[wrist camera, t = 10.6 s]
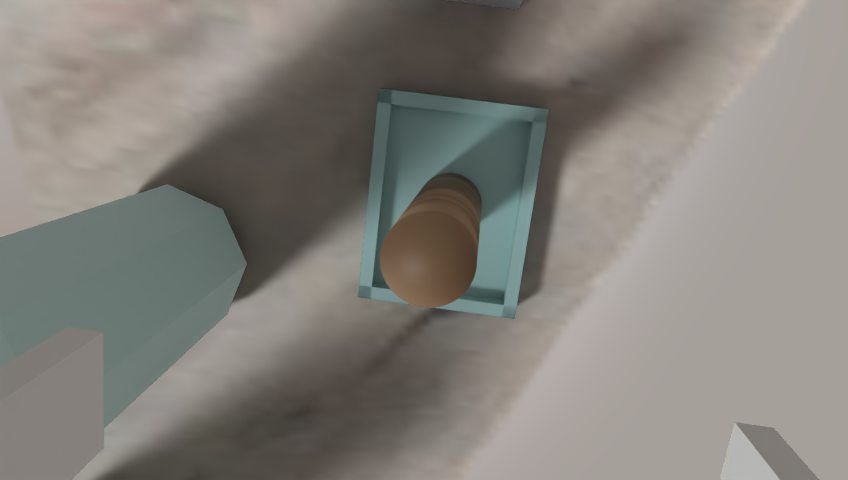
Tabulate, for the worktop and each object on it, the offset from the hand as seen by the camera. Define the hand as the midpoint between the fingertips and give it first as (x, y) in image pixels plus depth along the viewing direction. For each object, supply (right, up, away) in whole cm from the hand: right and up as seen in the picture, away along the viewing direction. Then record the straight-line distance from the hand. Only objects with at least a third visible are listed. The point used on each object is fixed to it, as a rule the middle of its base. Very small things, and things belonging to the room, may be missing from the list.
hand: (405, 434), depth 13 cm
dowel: (+2, +6, +27) cm, 27 cm away
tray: (+2, +6, +28) cm, 28 cm away
